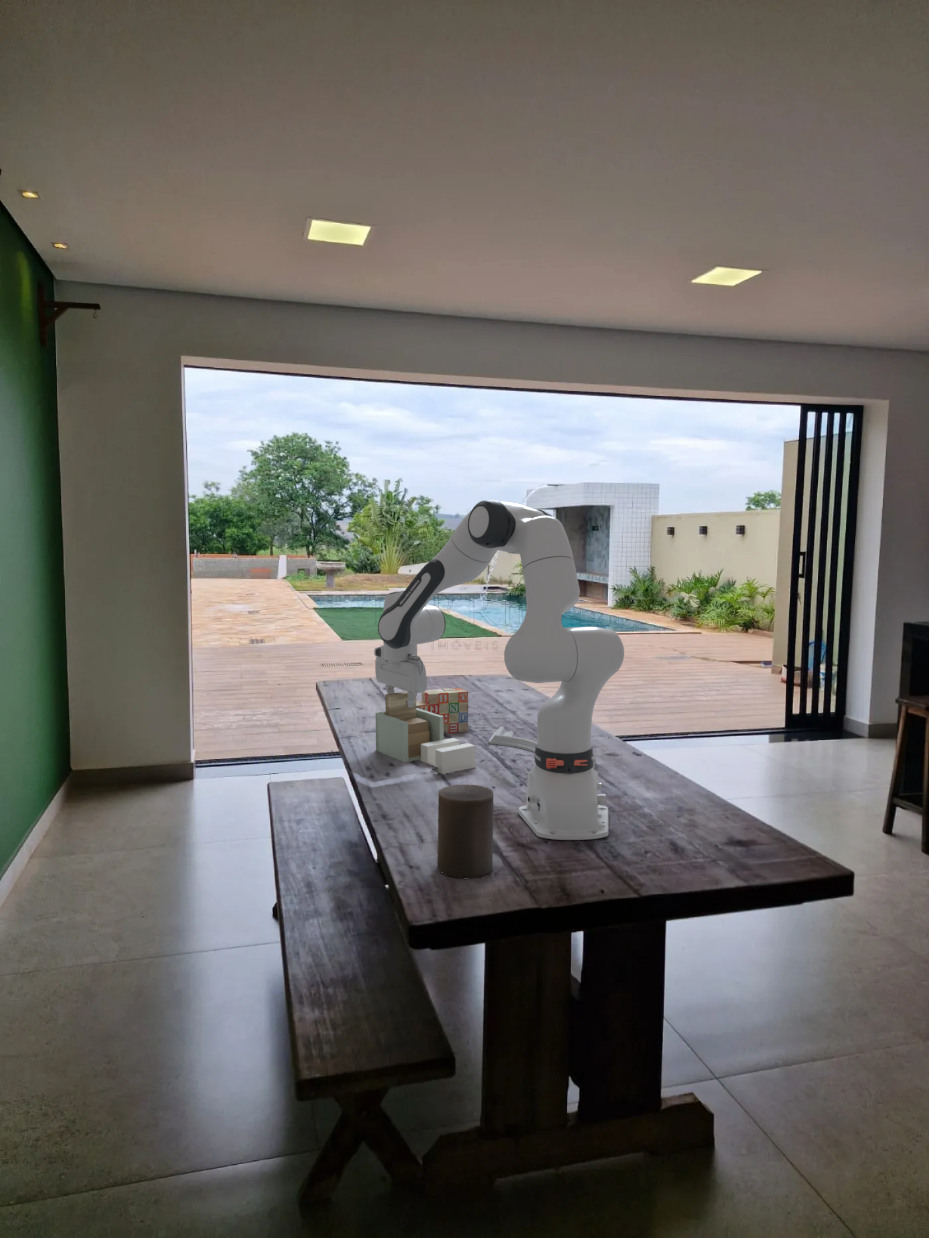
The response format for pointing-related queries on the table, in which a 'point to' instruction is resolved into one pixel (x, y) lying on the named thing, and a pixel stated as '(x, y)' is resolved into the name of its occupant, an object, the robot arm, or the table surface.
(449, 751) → the holder
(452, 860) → the pillar candle
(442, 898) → the table surface
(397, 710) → the rectangular block
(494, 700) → the table surface
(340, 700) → the table surface
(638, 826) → the table surface
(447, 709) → the stack of blocks
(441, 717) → the rack
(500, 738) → the molding
